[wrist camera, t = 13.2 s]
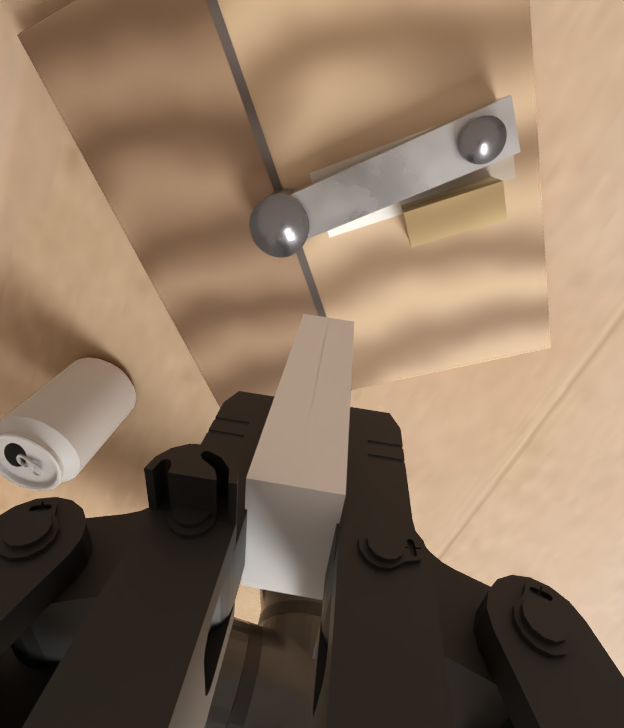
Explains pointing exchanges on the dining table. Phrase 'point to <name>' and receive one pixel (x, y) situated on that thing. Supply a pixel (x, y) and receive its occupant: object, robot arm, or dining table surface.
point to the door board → (308, 172)
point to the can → (64, 424)
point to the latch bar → (385, 178)
